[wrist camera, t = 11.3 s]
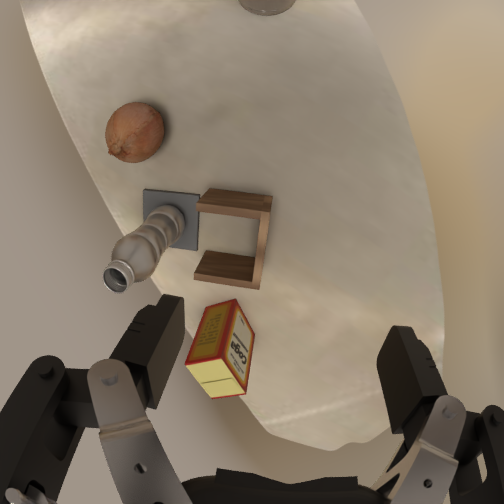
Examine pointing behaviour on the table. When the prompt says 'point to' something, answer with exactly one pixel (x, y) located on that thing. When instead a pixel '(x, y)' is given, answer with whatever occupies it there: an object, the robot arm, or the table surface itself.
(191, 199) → the rubber mat
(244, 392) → the baking soda box
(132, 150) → the onion
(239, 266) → the walnut rack
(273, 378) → the table surface
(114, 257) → the plastic bottle
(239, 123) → the table surface
